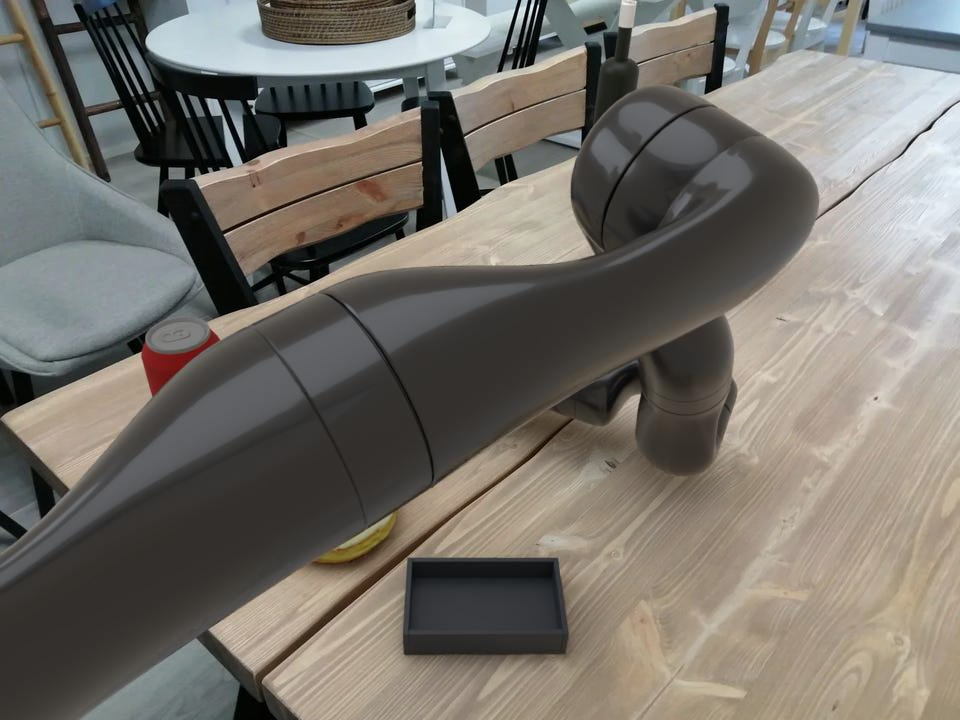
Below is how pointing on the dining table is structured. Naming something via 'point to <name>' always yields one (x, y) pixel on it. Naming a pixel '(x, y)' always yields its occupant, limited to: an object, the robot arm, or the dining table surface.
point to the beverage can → (174, 348)
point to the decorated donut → (361, 542)
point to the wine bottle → (618, 65)
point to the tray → (484, 606)
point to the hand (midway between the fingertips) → (378, 316)
